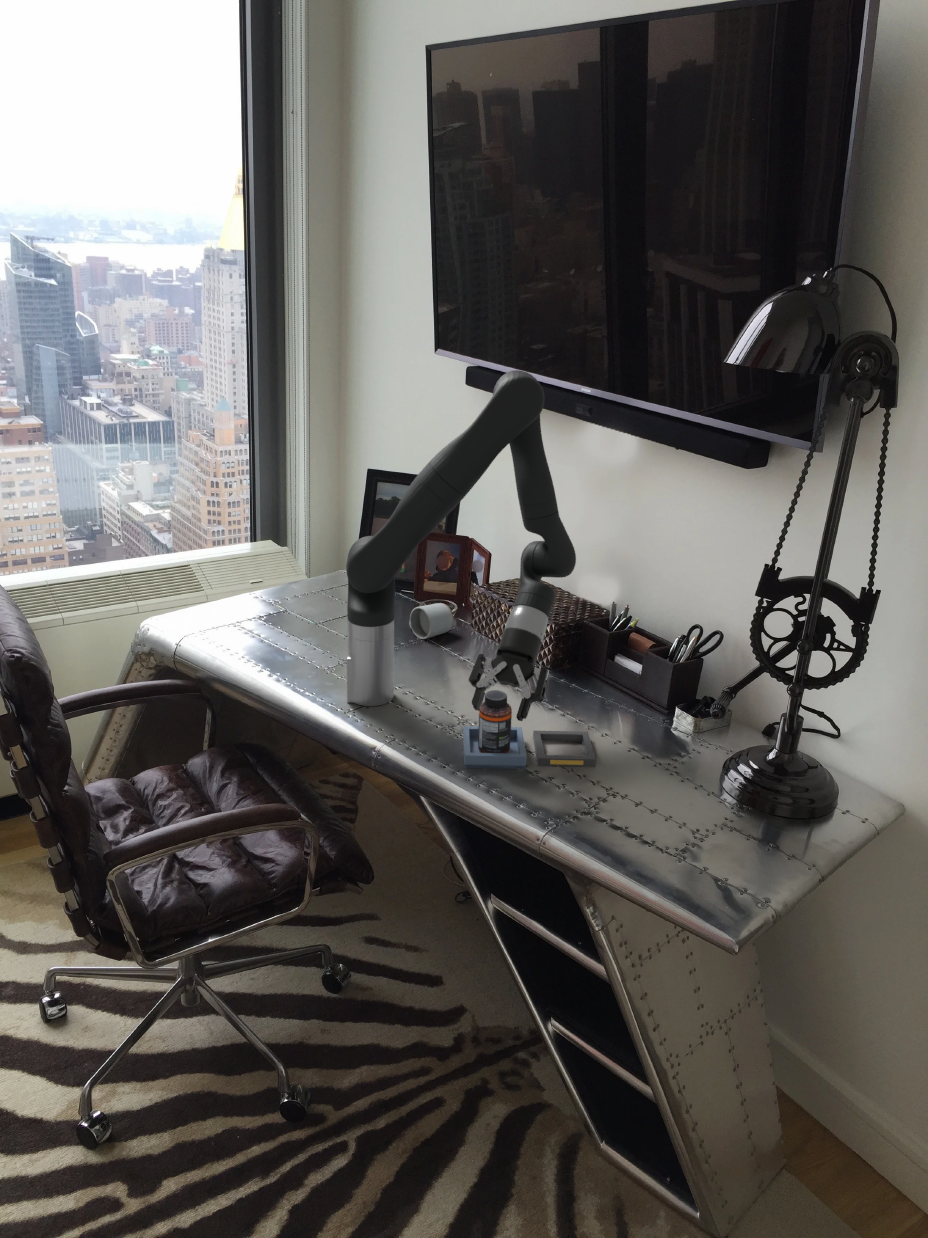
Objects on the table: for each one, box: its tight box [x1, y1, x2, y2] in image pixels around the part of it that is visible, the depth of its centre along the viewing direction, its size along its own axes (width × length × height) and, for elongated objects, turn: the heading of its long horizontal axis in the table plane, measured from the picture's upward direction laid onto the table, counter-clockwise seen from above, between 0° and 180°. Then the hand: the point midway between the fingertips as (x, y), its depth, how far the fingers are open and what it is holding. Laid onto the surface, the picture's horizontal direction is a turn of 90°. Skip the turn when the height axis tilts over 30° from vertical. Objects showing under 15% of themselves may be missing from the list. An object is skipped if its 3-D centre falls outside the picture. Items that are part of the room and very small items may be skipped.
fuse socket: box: [532, 730, 597, 768], centre depth 184 cm, size 10×10×2 cm
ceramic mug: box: [409, 602, 455, 640], centre depth 233 cm, size 11×8×8 cm
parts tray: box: [462, 725, 527, 770], centre depth 182 cm, size 11×11×2 cm
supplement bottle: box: [478, 689, 513, 754], centre depth 180 cm, size 6×6×11 cm
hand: (497, 714), depth 181 cm, fingers open, 8 cm apart
